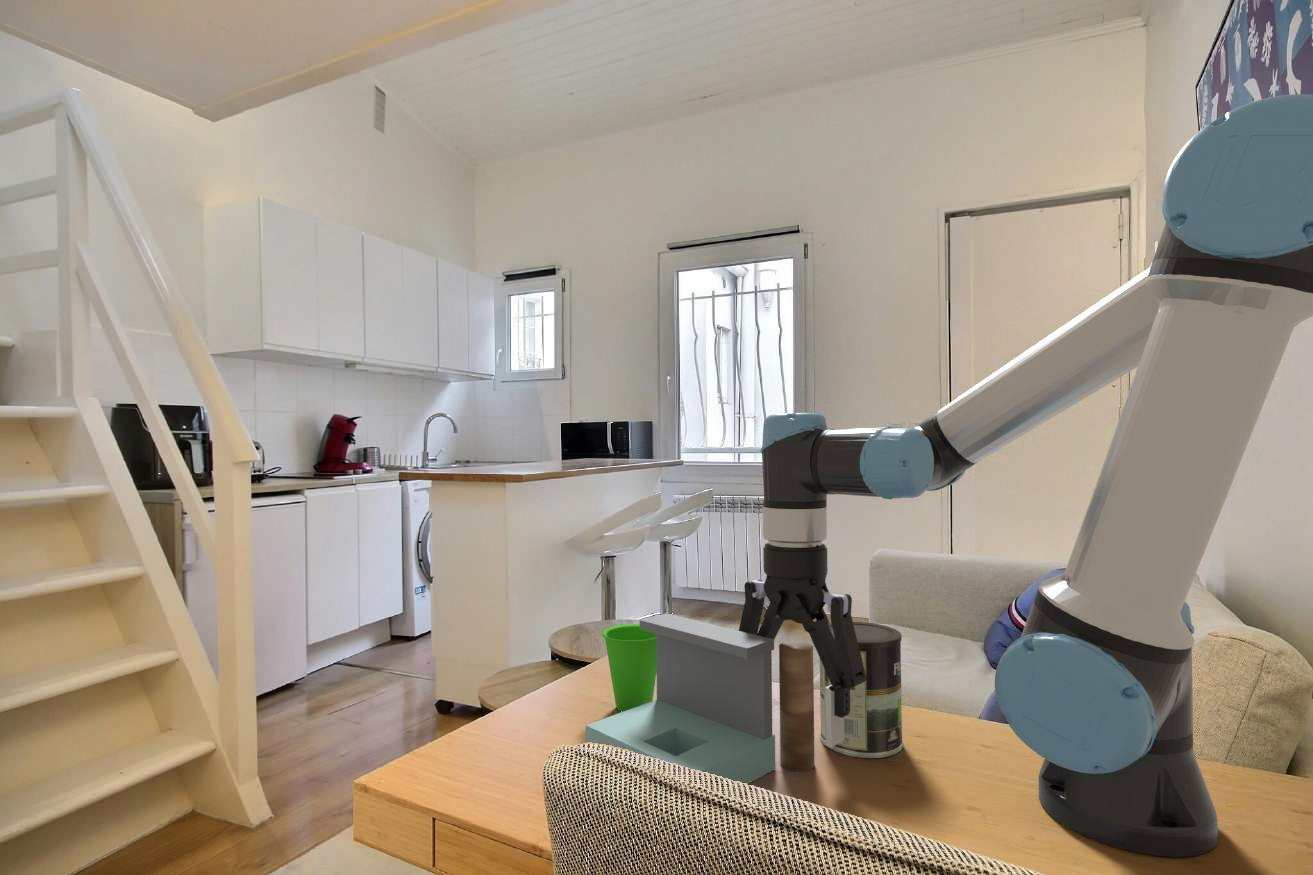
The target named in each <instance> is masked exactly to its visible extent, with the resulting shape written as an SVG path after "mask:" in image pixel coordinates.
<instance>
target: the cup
mask: <svg viewBox="0 0 1313 875" xmlns="http://www.w3.org/2000/svg"><path fill="white" fill-rule="evenodd" d="M601 635H602V637H603V638H604V642H605V647H606V652H607V660H608V665H609V671H610V677H611V682H612V683H611V684H612V689H613V696H614V702H615V703H614V704H615V707H616V708H617V711H618V712H620V711H622V712H624V711H627V710H629V709H632V708H635V707H638V706H640V705H643V704H646V703H649V702H652V701H654V700H653V699H654V695H655V694H654V692H655V686H656V681H657V668H656V634H655V633H651V632H648V631H644V630H641V629H640V623H627V624H620V625H619V624H618V625H614V626H610V627H608V628H606V629H604V630H603V631H602V633H601Z"/></svg>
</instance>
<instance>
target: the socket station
mask: <svg viewBox="0 0 1313 875" xmlns="http://www.w3.org/2000/svg"><path fill="white" fill-rule="evenodd" d="M639 624H640V629H641V630H644V631H648V632H651V633H655V634H656V668H657V673H656V699H655V700H653V701H652V702H649V703H646V704H643V705H640V706H638V707H635V708H632V709H629V710H627V711H624V712H619V713H616V714H614V715H610V716H608V717H604V718H603V719H600V720H596V721H594V722H591V723H589V724H586V725H585V743H586V742H592V743H598V744H606V745H612V746H614V747H620V748H622V749H628V750H629V751H633V752H635V753H638V754H643V755H645V756H650V757H653V758H658V759H660V760H664V761H666V762H670V763H676V764H678V765H681V766H684V767H688V768H690V769H695V770H700V771H702V772H708V773H710V774H715V775H717V776H722V777H723V778H728V779H731V780H733V781H740V782H742V783H748V784H747V785H749V784H750V781H753V782H754V781H756V780H758V779H760V778H762V777H764V776H765V775H767V774H770V773H771V772H773V771H775V770H776V734H773V677H772V676H773V672H772V671H773V670H772V669H773V668H772V667H773V666H772V665H773V664H772V651H774V650H775V639H770V638H766V637H762V636H758V635H754V634H750V633H745V632H741V631H739V630H736V629H732V628H729V627H728V628H727V627H723V626H721V625H717V624H716V625H715V624H712V623H709V622H704V621H700V620H696V619H692V618H687V617H684V616H679V615H675V614H671V613H663V614H659V615H655V616H651V617H646V618H642V619H639ZM774 769H775V770H774ZM772 770H773V771H772Z"/></svg>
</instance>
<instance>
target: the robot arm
mask: <svg viewBox="0 0 1313 875" xmlns="http://www.w3.org/2000/svg"><path fill="white" fill-rule="evenodd" d="M1162 188H1163V190H1162V199H1161V209H1162V210H1161V211H1162V215H1163V219H1164V221H1165V224H1164V227H1163V230H1162V232H1161V235H1160V237H1159V238H1160V239H1159V241H1158V245H1157V248H1156V250H1155V251H1154V253H1153V257H1152V260H1151V263H1150V265H1149V267H1148V268H1147V269H1145V270H1144V271H1142V272H1141V273H1139V274H1137V275H1136V276H1135V277H1133V278H1132V279H1130V280H1129V281H1128V282H1125V283H1124V284H1122V286H1120V287H1119V288H1117V289H1116V290H1114V291H1113V292H1111V293H1109V295H1107V296H1105V297H1104V298H1102V299H1101V300H1100V301H1098V302H1096V303H1095V304H1094V305H1092V306H1090V307H1089V308H1087V309H1086V310H1085V311H1083V312H1082V313H1080V314H1079V315H1077V316H1075V317H1074V318H1073V319H1071V320H1070V321H1068V322H1067V323H1065V324H1063V325H1062V326H1061V327H1059V328H1058V329H1057V330H1055V331H1054V332H1052V333H1051V334H1048V336H1046V337H1045V338H1043V339H1042V340H1040V341H1038V342H1037V343H1036V344H1035V345H1032V346H1031V347H1030V348H1028V349H1027V350H1026V351H1024V352H1023V353H1021V354H1020V355H1018V356H1017V357H1015V358H1014V359H1012V360H1011V361H1009V362H1008V363H1006V364H1005V365H1004V366H1002V367H1001V368H999V369H998V370H996V371H995V372H993V373H991V374H990V375H989V376H987V377H985V378H984V379H983V380H981V381H980V382H979V383H977V384H975V385H974V386H972V387H971V388H969V389H968V390H966V391H965V392H964V393H962V394H960V395H959V396H958V397H957V398H955V399H953V400H951V401H950V402H949V403H948V404H945V405H944V406H943V407H941V408H940V409H938V411H937V412H935V413H933V414H932V415H930V416H928V417H927V418H926V419H924V420H922V421H921V422H920V423H918V424H917V425H915V426H914V427H912V428H911V427H902V426H885V427H884V426H883V427H870V428H869V427H868V428H867V427H866V428H845V429H844V428H843V429H834V428H833V429H832V428H828V426H827V420H826V417H825V415H823V414H822V413H817V412H815V413H814V412H795V413H794V412H793V413H792V412H791V413H789V412H788V413H787V412H786V413H785V412H784V413H772V414H770V415H768V416H767V417H766V418H765V419H764V421H763V424H762V427H763V429H762V447H761V448H760V453H761V458H762V459H761V461H762V462H761V463H762V480H763V498H762V500H763V504H762V537H763V539H764V540H766V541H767V542H765V544H764V545H763V546H762V548H763V550H762V552H763V553H762V555H763V557H762V558H763V559H762V560H763V572H764V574H766V577H765V580H764V581H763V579H761V578H759V579H758V578H757V579H755V580H754V579H753V580H750V581H746V582H745V583H744V598H745V599H744V605H743V610H742V614H741V619H740V624H739V628H738V631H741V632H745V633H750V634H754V635H758V636H762V637H766V638H770V639H774V640H776V638H777V635H778V634H779V632H780V630H781V627H782V626H783V624H784V621H792V622H794V623H797V624H801V625H802V626H803V629H804V632H807V634H809V637H810V638H811V641H812V643H813V645H814V646H813V647H814V648H815V650H816V652H817V655H818V658H819V660H820V659H821V662H822V664H823V666H824V669H825V671H826V673H827V675H828V678H829V680H830V682H831V685H830V686H828V687H825V717H826V745H827V746H829V747H833V746H835V745H837V744H838V743H840V742H842V741H844V717H845V716H847V715H848V714H849V712H850V688H852V687H855V686H857V685H859V684H861V683H863V682H865V681H866V674H865V670H864V666H863V662H862V657H861V653H860V649H859V645H858V641H857V637H856V633H855V629H854V625H853V622H854V621H853V618H852V607H853V606H852V605H853V604H852V603H853V599H852V596H851V595H850V594H849V593H844V594H836V593H835V592H834V593H833V592H830V590H829V589H828V587H827V583H826V579H827V576H828V547H827V546H826V544H824V543H822V542H824V541H825V540H827V538H828V533H827V532H828V531H827V530H828V528H827V527H828V524H827V523H828V521H827V520H828V517H827V516H828V515H827V514H828V512H827V510H828V509H827V505H828V504H827V501H828V500H827V497H828V495H843V496H855V497H872V498H874V497H875V498H882V499H885V500H893V499H913V498H918V497H920V496H922V495H923V494H925V491H927V492H933V491H934V492H935V491H939V490H942V489H944V488H946V487H949V486H952V485H953V484H955V483H957V482H958V481H959V480H960V479H961V478H962V477H963V475H964V474H965V473H966V471H967V470H969V469H970V468H971V467H973V466H974V465H976V464H978V463H979V462H981V461H982V460H984V459H986V458H987V457H989V456H991V455H992V454H994V453H996V452H997V451H999V450H1000V449H1003V448H1005V447H1006V446H1007V445H1009V444H1011V443H1012V442H1014V441H1015V440H1016V441H1017V439H1019V438H1021V437H1023V436H1024V435H1026V434H1028V433H1029V432H1031V431H1032V430H1034V429H1036V428H1037V427H1039V426H1041V425H1042V424H1044V423H1046V422H1048V421H1049V420H1051V419H1053V418H1055V417H1056V416H1058V415H1059V414H1061V413H1064V412H1065V411H1066V410H1069V408H1072V407H1073V406H1074V405H1076V404H1078V403H1080V402H1081V401H1083V400H1084V399H1085V400H1086V398H1088V397H1089V396H1091V395H1093V394H1094V393H1096V392H1098V391H1099V390H1101V389H1103V388H1105V387H1107V386H1108V385H1110V384H1112V383H1113V382H1115V381H1117V380H1118V379H1121V377H1124V376H1125V375H1127V374H1128V373H1130V372H1132V371H1134V370H1135V369H1136V371H1135V374H1134V377H1133V379H1132V380H1133V381H1132V383H1131V386H1130V388H1129V391H1128V394H1127V397H1126V400H1125V402H1124V406H1123V408H1122V410H1121V413H1120V415H1119V419H1118V422H1117V425H1116V428H1115V431H1114V433H1113V435H1112V436H1113V437H1112V438H1111V441H1110V445H1109V448H1108V450H1107V453H1106V456H1105V458H1104V460H1103V464H1102V467H1101V469H1100V472H1099V475H1098V478H1097V481H1096V484H1095V486H1094V489H1093V493H1092V495H1091V498H1090V501H1089V503H1088V506H1087V509H1086V512H1085V515H1084V518H1083V520H1082V523H1081V525H1080V529H1079V531H1078V534H1077V537H1076V540H1075V543H1074V545H1073V548H1072V551H1071V554H1070V557H1069V560H1068V562H1067V565H1066V568H1065V571H1063V573H1059V574H1057V575H1055V576H1052V577H1049V578H1047V579H1045V580H1041V582H1040V584H1039V585H1038V588H1037V591H1036V594H1035V597H1034V599H1033V602H1032V606H1031V607H1030V611H1029V613H1028V615H1027V618H1026V621H1025V625H1024V628H1023V630H1022V633H1021V635H1020V637H1019V638H1016V639H1015V640H1014V641H1012V643H1011V644H1010V645H1009V646H1007V647H1006V650H1005V651H1004V652H1003V654H1002V655H1001V658H1000V660H999V661H998V664H997V667H996V669H995V670H996V671H995V674H994V691H995V695H996V696H995V698H996V700H997V703H998V706H999V709H1000V711H1001V713H1002V714H1003V715H1004V717H1005V719H1006V721H1007V722H1008V725H1009V727H1010V729H1011V730H1012V731H1013V733H1014V734H1015V735H1016V737H1018V738H1019V739H1020V741H1022V743H1024V744H1025V746H1027V747H1028V748H1029V749H1030V750H1032V751H1033V752H1034V753H1035V754H1037V755H1039V756H1040V757H1041V758H1043V759H1044V760H1043V762H1042V765H1041V768H1040V770H1039V773H1038V799H1039V803H1040V805H1041V806H1042V807H1043V809H1044V810H1045V811H1046V812H1047V813H1048V814H1049V815H1050V816H1051V817H1052V818H1054V819H1055V820H1057V821H1058V822H1059V823H1061V824H1062V825H1064V826H1065V827H1067V828H1069V829H1071V830H1073V831H1074V832H1077V833H1079V834H1081V835H1083V836H1084V837H1087V838H1089V839H1092V840H1094V841H1097V842H1100V843H1103V844H1104V845H1108V846H1112V847H1115V848H1118V849H1121V850H1125V851H1129V852H1134V853H1139V854H1145V855H1151V856H1159V857H1172V858H1173V857H1175V858H1177V857H1178V858H1179V857H1180V858H1181V857H1182V858H1183V857H1193V856H1199V855H1201V854H1206V853H1207V852H1210V851H1211V850H1213V849H1214V848H1216V846H1217V844H1218V842H1219V839H1218V838H1219V827H1218V825H1219V823H1218V821H1219V819H1218V814H1217V810H1216V807H1215V805H1214V802H1213V800H1212V797H1211V794H1210V792H1209V789H1208V787H1207V784H1206V781H1205V779H1204V776H1203V774H1202V771H1201V768H1200V766H1199V764H1198V760H1197V758H1196V756H1195V751H1194V750H1195V749H1194V710H1193V709H1194V707H1193V706H1194V702H1193V697H1194V696H1193V645H1194V643H1195V638H1194V636H1193V634H1195V627H1194V625H1193V624H1192V618H1191V617H1192V616H1191V609H1190V608H1191V607H1190V606H1189V604H1188V603H1187V602H1186V600H1187V596H1188V594H1189V592H1190V589H1191V587H1192V584H1193V582H1194V579H1195V576H1196V574H1197V571H1198V569H1199V566H1200V565H1201V562H1202V560H1203V556H1204V553H1205V551H1206V549H1207V546H1208V544H1209V541H1210V539H1211V536H1212V534H1213V531H1214V529H1215V527H1216V524H1217V521H1218V519H1219V517H1220V514H1221V511H1222V509H1223V506H1224V504H1225V502H1226V499H1227V497H1228V493H1229V492H1230V489H1231V486H1232V484H1233V481H1234V479H1235V477H1236V474H1237V472H1238V469H1239V466H1240V464H1241V461H1242V458H1243V456H1244V453H1245V451H1246V449H1247V447H1248V444H1249V441H1250V440H1251V439H1250V438H1251V436H1252V434H1253V431H1254V429H1255V426H1256V424H1257V421H1258V419H1259V416H1260V414H1261V413H1262V412H1261V411H1262V409H1263V406H1264V404H1265V401H1266V399H1267V396H1268V394H1269V391H1270V389H1271V386H1272V384H1273V381H1274V379H1275V376H1276V374H1277V371H1278V368H1279V366H1280V363H1281V361H1282V359H1283V356H1284V354H1285V351H1286V348H1287V345H1288V343H1289V341H1290V339H1291V336H1292V334H1293V331H1294V329H1295V328H1296V327H1297V326H1298V325H1299V324H1301V323H1302V322H1305V321H1306V320H1307V319H1310V318H1312V317H1313V94H1308V93H1306V94H1305V93H1304V94H1298V93H1297V94H1283V95H1274V96H1269V97H1266V98H1262V99H1259V100H1258V99H1257V100H1254V101H1252V102H1248V103H1246V104H1244V105H1240V106H1238V107H1236V108H1234V109H1232V110H1230V111H1228V112H1226V113H1224V114H1223V115H1220V116H1219V117H1217V118H1216V119H1214V120H1213V121H1212V122H1210V123H1209V124H1206V125H1205V126H1204V127H1203V128H1200V130H1199V131H1198V132H1196V133H1195V134H1194V135H1193V136H1192V137H1191V138H1190V139H1189V140H1188V141H1186V143H1185V145H1184V146H1183V147H1182V148H1181V149H1180V150H1179V152H1178V153H1177V155H1176V156H1175V157H1174V159H1173V161H1172V163H1171V165H1170V166H1169V169H1168V171H1167V174H1166V177H1165V179H1164V184H1163V187H1162ZM766 597H767V598H768V601H769V602H770V603H769V604H768V605H767V606H768V607H767V608H766V611H765V613H764V615H763V618H764V619H763V620H762V623H761V618H762V614H763V610H764V606H765V598H766ZM825 605H827V607H826V610H827V612H828V613H830V621H831V622H829V618H828V616H827V613H826V611H825V609H824V606H825ZM814 620H816V621H814ZM760 623H761V626H760ZM830 623H832V628H833V632H834V636H835V640H836V642H835V640H834V637H833V635H832V633H831V631H830V629H829V626H828V624H830ZM827 746H826V747H827Z"/></svg>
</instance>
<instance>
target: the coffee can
mask: <svg viewBox="0 0 1313 875" xmlns="http://www.w3.org/2000/svg"><path fill="white" fill-rule="evenodd" d="M853 625H854V629H855V633H856V637H857V641H858V645H859V649H860V653H861V657H862V662H863V666H864V670H865V674H866V681H865V682H863V683H861V684H859V685H857V686H855V687H852V688H850V712H849V714H848V715H847V716H845V717H844V741H842V742H840V743H838V744H837V745H835V746H833V747H829V746H827V745H826V717H825V687H828V686H830V685H831V682H830V680H829V678H828V675H827V673H826V671H825V669H824V666H823V664H822V662H821V659H820V658H819V696H820V698H819V701H820V711H819V712H820V734H819V739H820V741H821V743H822V744H823V745H824V746H826V748H828V749H830V750H831V751H833V752H836V753H839V754H841V755H845V756H848V757H853V758H854V757H855V758H861V759H883V758H888V757H892V756H895V755H897V754H898V753H900V752H901V751H902V749H903V746H904V743H903V724H902V723H903V722H902V720H903V718H902V714H903V713H902V710H903V709H902V662H901V661H902V659H901V658H902V657H901V656H902V652H901V650H902V647H901V645H902V639H903V638H902V636H903V635H902V633H901V632H900V631H899V630H897V629H896V628H893V627H890V626H887V625H883V624H879V623H872V622H866V621H865V622H863V621H853ZM828 626H829V629H830V631H831V633H832V635H833V637H834V640H835V636H834V632H833V628H832V623H831V622H829V624H828ZM835 642H836V640H835Z"/></svg>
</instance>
